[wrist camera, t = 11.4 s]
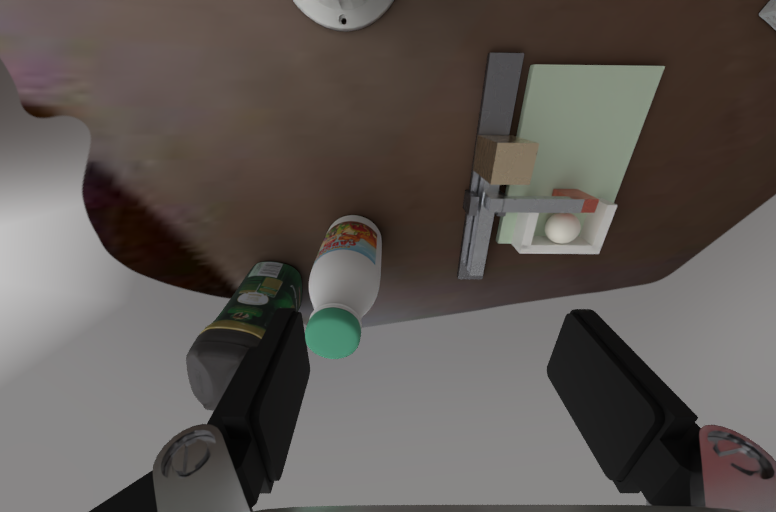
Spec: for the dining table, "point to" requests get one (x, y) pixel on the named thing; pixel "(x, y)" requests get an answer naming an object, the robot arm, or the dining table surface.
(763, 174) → the dining table surface
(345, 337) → the milk bottle
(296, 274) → the coffee jar
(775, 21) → the supplement box
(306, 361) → the robot arm
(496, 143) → the grey l-shaped bar
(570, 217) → the ball
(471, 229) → the rail
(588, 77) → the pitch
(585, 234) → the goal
